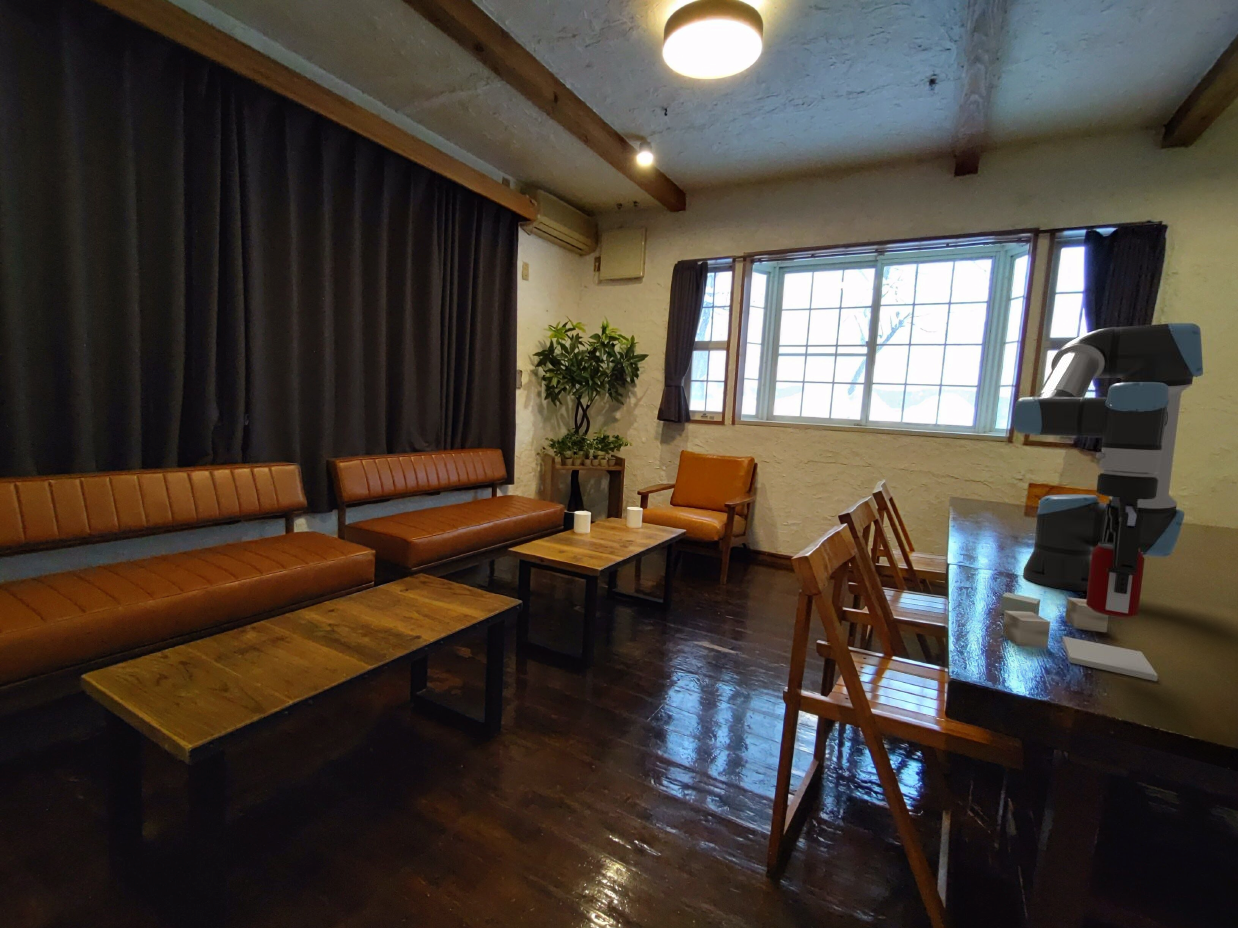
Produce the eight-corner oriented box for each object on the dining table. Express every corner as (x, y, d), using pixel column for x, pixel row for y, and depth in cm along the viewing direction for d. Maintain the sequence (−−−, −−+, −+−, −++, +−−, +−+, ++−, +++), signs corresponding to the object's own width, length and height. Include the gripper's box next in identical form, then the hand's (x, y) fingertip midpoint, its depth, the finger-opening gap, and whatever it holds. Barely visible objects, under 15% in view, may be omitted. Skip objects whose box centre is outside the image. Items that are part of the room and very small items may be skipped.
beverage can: (1138, 613, 95) (1146, 546, 93) (1136, 623, 90) (1145, 552, 89) (1087, 603, 99) (1094, 539, 98) (1083, 611, 95) (1091, 544, 94)
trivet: (1061, 641, 103) (1062, 636, 103) (1140, 657, 97) (1141, 651, 97) (1069, 662, 94) (1070, 656, 94) (1157, 681, 88) (1157, 675, 88)
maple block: (1002, 635, 105) (1004, 610, 105) (1029, 637, 105) (1031, 612, 104) (1018, 646, 100) (1021, 620, 100) (1047, 648, 100) (1050, 621, 100)
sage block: (1004, 609, 120) (1006, 592, 120) (1038, 617, 116) (1040, 599, 116) (1000, 613, 117) (1002, 595, 117) (1034, 622, 113) (1036, 603, 113)
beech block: (1064, 620, 115) (1067, 597, 114) (1093, 623, 113) (1096, 600, 113) (1076, 628, 110) (1078, 604, 109) (1106, 632, 108) (1109, 608, 108)
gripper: (1089, 468, 103) (1076, 586, 105) (1109, 476, 86) (1093, 616, 88) (1143, 471, 98) (1128, 594, 101) (1175, 480, 82) (1156, 627, 84)
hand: (1112, 604), depth 94 cm, fingers closed on beverage can, 7 cm apart
